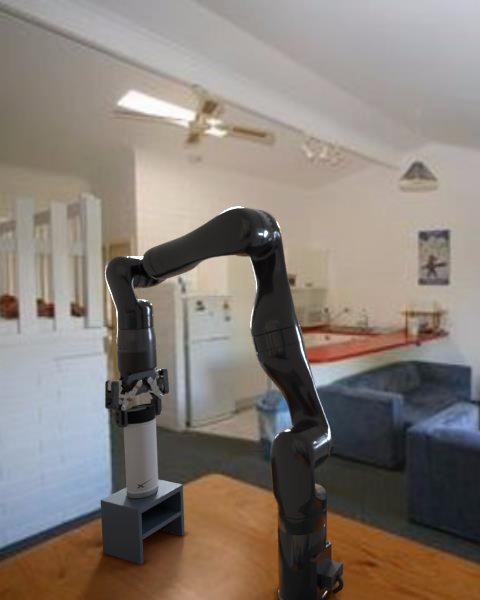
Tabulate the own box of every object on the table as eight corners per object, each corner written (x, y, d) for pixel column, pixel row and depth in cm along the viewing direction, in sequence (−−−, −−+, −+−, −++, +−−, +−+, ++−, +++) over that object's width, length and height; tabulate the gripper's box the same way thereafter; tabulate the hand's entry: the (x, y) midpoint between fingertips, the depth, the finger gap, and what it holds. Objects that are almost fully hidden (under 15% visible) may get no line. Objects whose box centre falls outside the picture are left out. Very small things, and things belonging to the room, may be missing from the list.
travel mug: (146, 500, 103) (142, 410, 101) (119, 497, 104) (115, 407, 103) (166, 487, 109) (162, 401, 107) (140, 484, 110) (137, 399, 109)
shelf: (184, 534, 111) (182, 484, 110) (140, 564, 100) (138, 509, 99) (149, 524, 115) (147, 476, 114) (102, 553, 104) (100, 500, 103)
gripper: (120, 355, 96) (123, 433, 97) (176, 343, 109) (178, 412, 111) (93, 352, 99) (97, 429, 100) (151, 341, 112) (154, 409, 113)
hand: (139, 420), depth 105 cm, fingers open, 8 cm apart
